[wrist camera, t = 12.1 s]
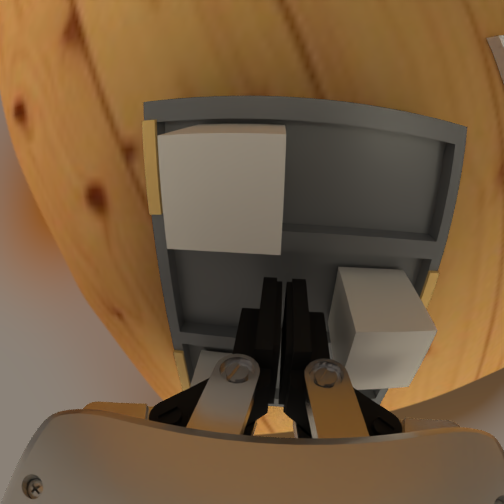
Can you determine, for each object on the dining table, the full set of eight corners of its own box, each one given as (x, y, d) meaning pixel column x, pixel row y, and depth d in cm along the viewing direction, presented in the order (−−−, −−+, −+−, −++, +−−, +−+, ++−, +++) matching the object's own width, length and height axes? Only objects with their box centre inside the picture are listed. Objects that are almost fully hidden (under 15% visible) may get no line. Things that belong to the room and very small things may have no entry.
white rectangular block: (284, 124, 10) (286, 134, 6) (281, 204, 11) (280, 255, 8) (200, 124, 10) (157, 135, 7) (202, 201, 11) (167, 249, 8)
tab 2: (258, 355, 15) (250, 420, 11) (256, 389, 16) (250, 447, 13) (201, 350, 15) (182, 411, 12) (206, 383, 17) (191, 440, 13)
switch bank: (430, 119, 11) (469, 127, 8) (370, 367, 19) (379, 407, 16) (174, 101, 12) (141, 102, 9) (197, 359, 20) (184, 398, 17)
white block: (403, 269, 12) (437, 330, 8) (386, 323, 13) (408, 386, 10) (338, 266, 12) (356, 331, 9) (327, 322, 14) (337, 390, 10)
